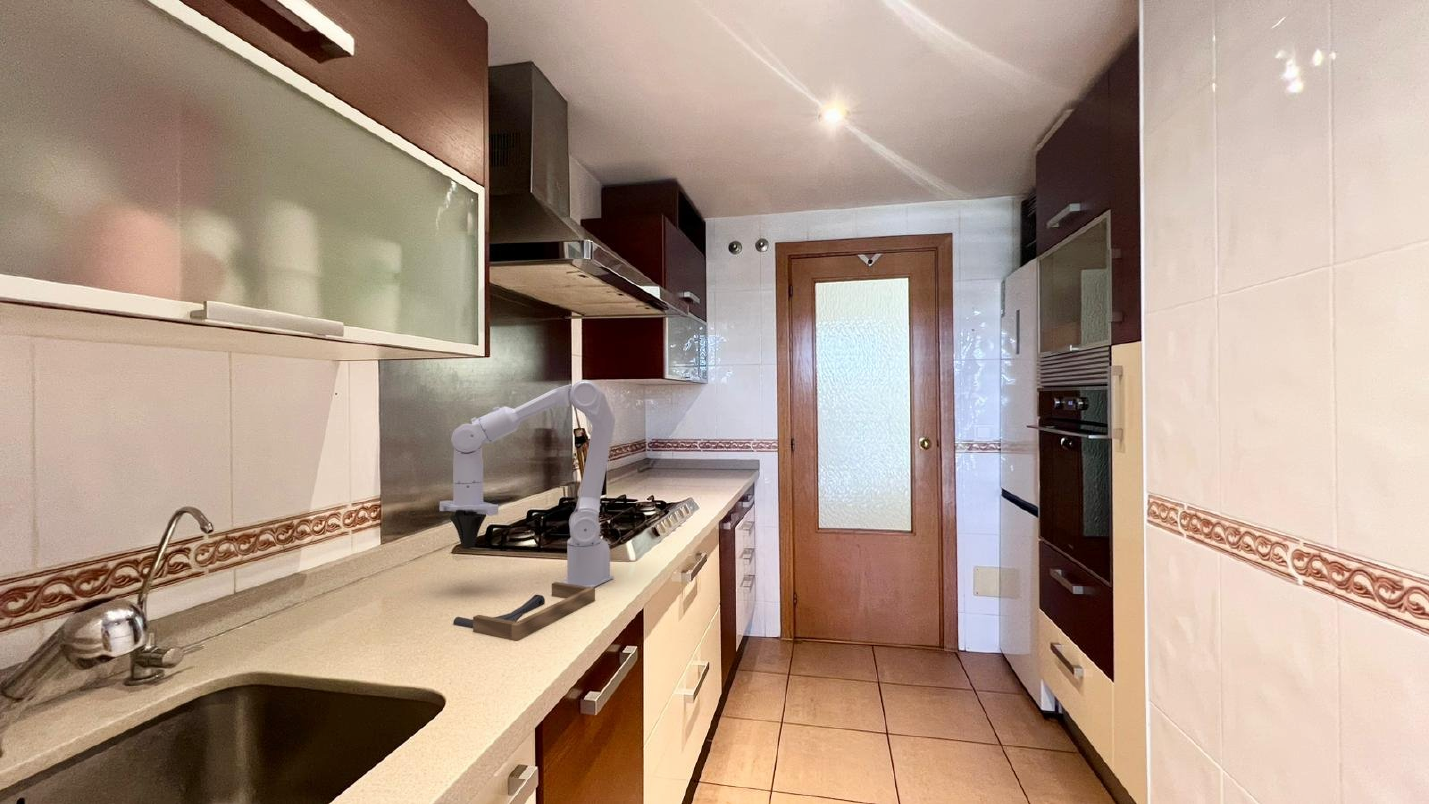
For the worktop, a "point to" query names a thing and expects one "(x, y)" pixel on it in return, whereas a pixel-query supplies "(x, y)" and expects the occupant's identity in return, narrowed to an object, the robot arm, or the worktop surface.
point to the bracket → (513, 616)
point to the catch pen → (534, 622)
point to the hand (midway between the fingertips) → (468, 547)
